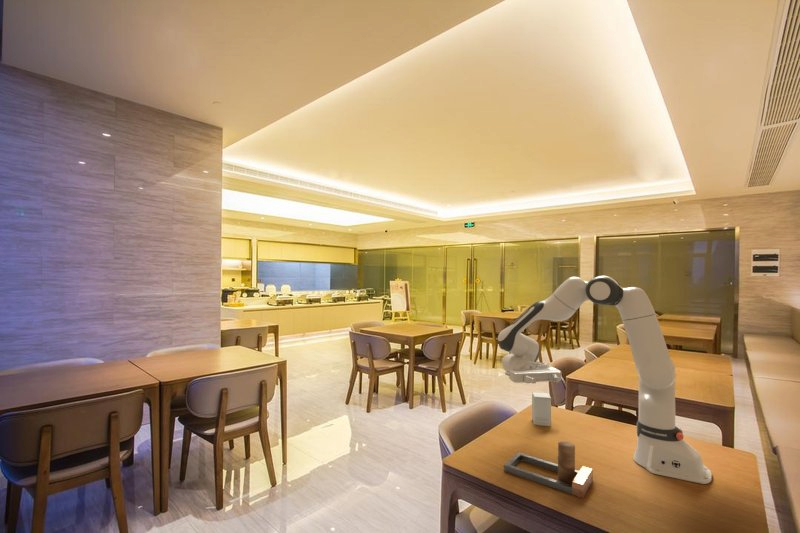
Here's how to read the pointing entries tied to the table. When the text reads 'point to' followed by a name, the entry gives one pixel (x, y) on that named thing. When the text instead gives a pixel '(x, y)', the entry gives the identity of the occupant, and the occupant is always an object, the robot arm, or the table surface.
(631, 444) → the table surface
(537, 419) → the supplement box
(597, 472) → the table surface
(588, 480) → the guide track
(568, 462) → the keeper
